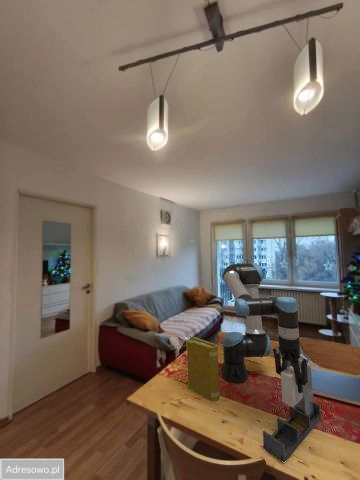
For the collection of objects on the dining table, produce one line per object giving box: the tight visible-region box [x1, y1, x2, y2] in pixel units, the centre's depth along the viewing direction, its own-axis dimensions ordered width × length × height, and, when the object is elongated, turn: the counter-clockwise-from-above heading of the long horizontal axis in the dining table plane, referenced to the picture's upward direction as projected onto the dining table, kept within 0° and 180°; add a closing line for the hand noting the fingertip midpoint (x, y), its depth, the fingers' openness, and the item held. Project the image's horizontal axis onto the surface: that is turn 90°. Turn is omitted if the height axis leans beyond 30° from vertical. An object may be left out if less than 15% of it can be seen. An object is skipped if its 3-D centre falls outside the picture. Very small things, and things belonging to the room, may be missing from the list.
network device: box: [287, 350, 313, 389], centre depth 109 cm, size 26×9×20 cm, turn 168°
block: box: [280, 366, 302, 408], centre depth 85 cm, size 4×8×11 cm, turn 127°
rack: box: [262, 385, 322, 463], centre depth 85 cm, size 8×31×12 cm, turn 127°
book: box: [185, 336, 220, 402], centre depth 111 cm, size 17×7×25 cm, turn 47°
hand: (292, 396), depth 85 cm, fingers closed on block, 4 cm apart
